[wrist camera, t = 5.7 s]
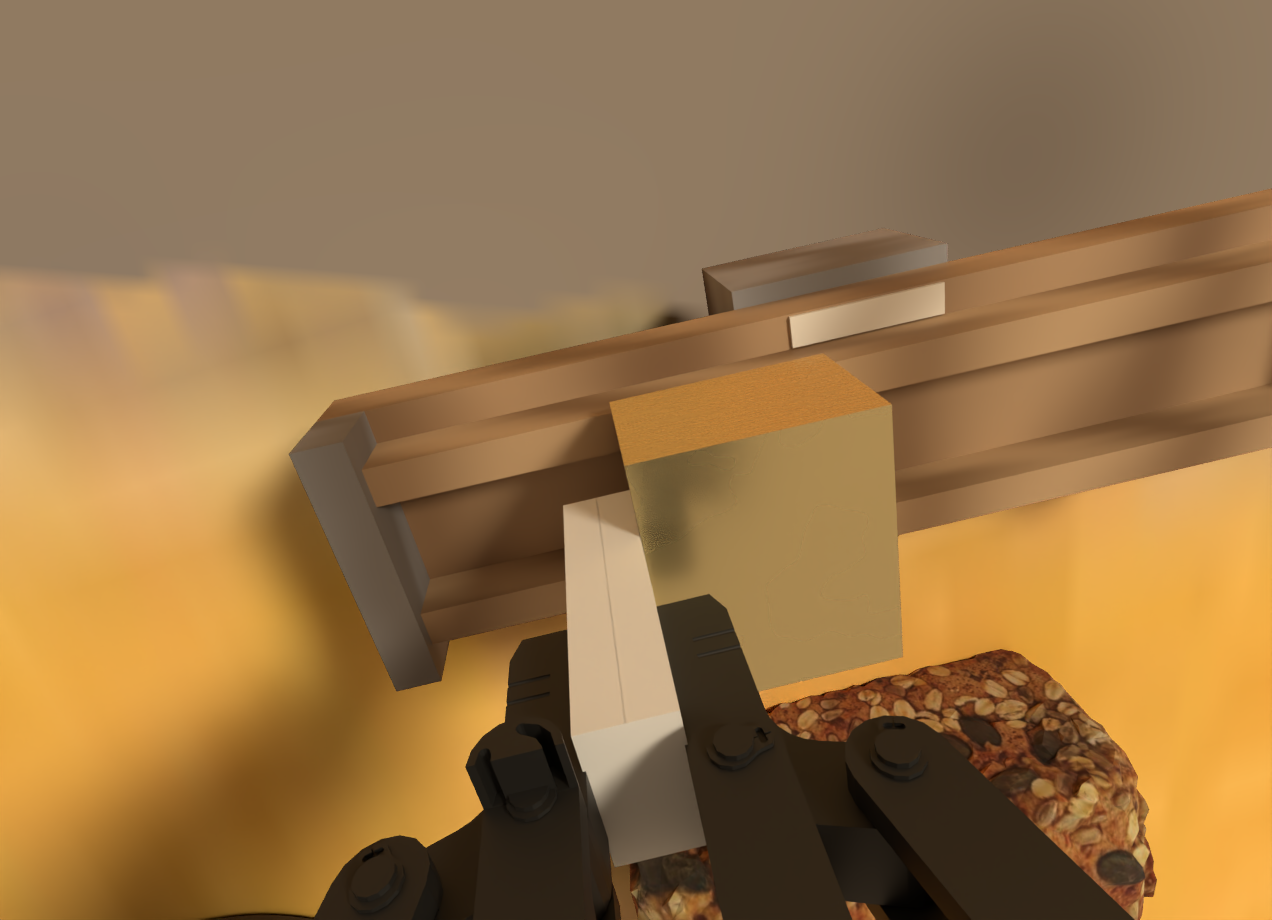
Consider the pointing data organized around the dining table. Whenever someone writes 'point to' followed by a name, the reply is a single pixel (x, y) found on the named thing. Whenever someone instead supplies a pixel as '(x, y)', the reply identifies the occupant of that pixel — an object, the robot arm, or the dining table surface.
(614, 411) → the block
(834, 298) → the beam
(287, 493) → the dining table surface
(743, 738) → the robot arm
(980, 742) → the bread
